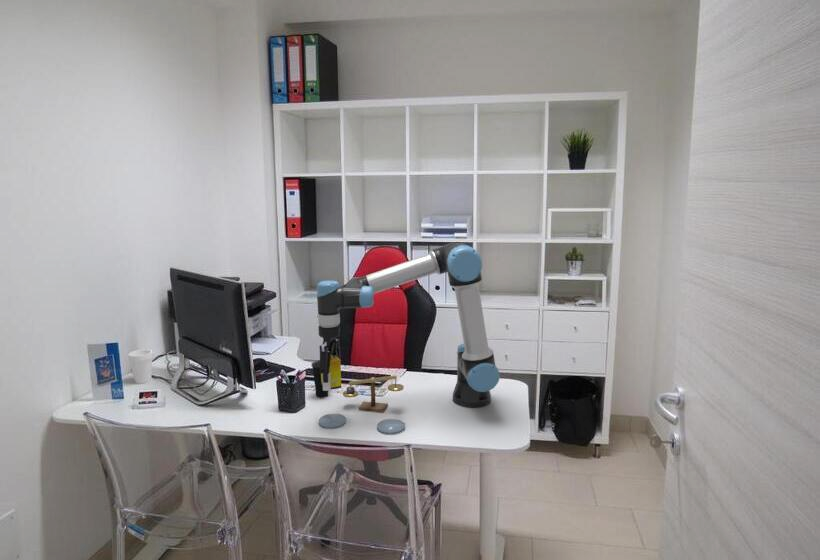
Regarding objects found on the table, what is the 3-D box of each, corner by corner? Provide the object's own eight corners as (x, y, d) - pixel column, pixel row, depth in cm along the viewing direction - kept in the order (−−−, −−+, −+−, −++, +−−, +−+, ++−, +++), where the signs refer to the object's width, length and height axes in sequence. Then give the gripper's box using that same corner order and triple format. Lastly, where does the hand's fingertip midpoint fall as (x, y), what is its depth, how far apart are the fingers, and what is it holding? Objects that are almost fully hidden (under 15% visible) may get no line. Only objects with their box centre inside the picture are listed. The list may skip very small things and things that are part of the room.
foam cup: (127, 381, 252) (124, 353, 250) (148, 375, 259) (146, 348, 257) (137, 386, 246) (134, 357, 244) (159, 380, 253) (156, 352, 251)
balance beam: (405, 395, 222) (405, 373, 220) (401, 401, 216) (401, 379, 215) (345, 390, 227) (345, 369, 226) (340, 396, 222) (340, 374, 220)
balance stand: (387, 406, 225) (387, 379, 222) (383, 412, 219) (383, 384, 217) (363, 404, 227) (362, 377, 225) (358, 410, 221) (357, 382, 219)
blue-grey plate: (407, 423, 210) (407, 420, 210) (401, 435, 200) (401, 432, 200) (381, 420, 212) (381, 417, 212) (373, 433, 202) (373, 429, 202)
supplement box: (320, 385, 210) (319, 356, 208) (336, 382, 212) (336, 354, 210) (325, 390, 204) (324, 361, 202) (341, 388, 207) (340, 358, 205)
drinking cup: (328, 399, 231) (326, 352, 227) (310, 398, 233) (307, 350, 229) (334, 392, 239) (332, 346, 235) (316, 391, 240) (314, 345, 236)
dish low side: (350, 418, 215) (350, 414, 214) (341, 429, 205) (340, 426, 205) (324, 415, 217) (324, 412, 217) (314, 427, 207) (314, 424, 207)
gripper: (329, 316, 214) (331, 375, 219) (307, 332, 195) (310, 396, 199) (348, 317, 213) (350, 376, 217) (328, 333, 193) (330, 397, 197)
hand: (331, 385), depth 208 cm, fingers closed on supplement box, 8 cm apart
